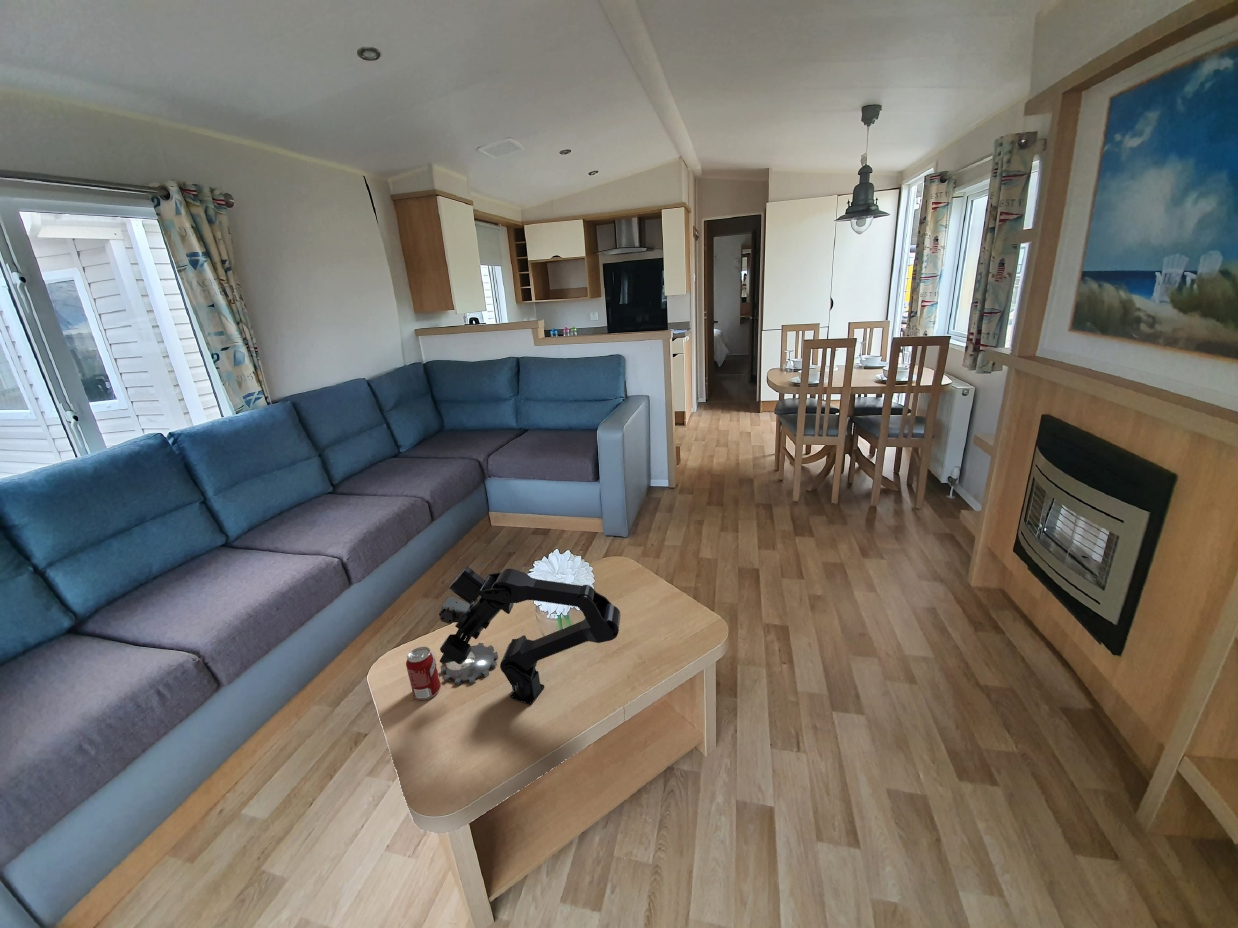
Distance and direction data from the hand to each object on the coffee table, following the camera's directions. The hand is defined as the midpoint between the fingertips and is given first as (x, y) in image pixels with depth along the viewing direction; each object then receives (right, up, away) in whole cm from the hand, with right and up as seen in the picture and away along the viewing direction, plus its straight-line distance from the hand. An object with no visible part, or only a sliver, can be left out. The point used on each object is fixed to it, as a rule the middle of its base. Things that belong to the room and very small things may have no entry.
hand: (449, 649), depth 123 cm
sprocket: (+1, -9, +14) cm, 16 cm away
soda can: (-7, -13, +5) cm, 16 cm away
